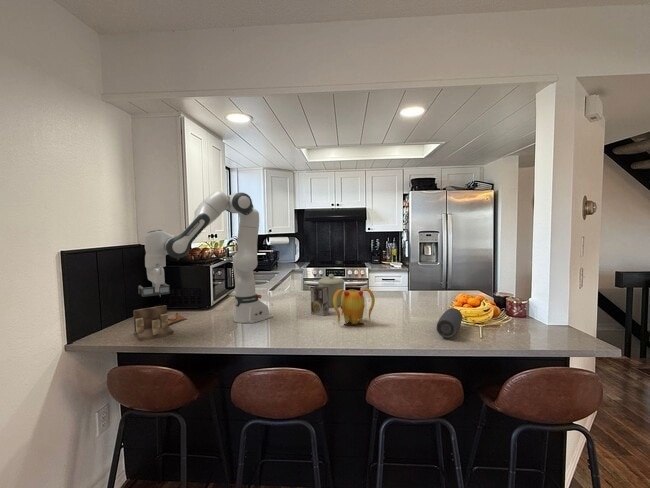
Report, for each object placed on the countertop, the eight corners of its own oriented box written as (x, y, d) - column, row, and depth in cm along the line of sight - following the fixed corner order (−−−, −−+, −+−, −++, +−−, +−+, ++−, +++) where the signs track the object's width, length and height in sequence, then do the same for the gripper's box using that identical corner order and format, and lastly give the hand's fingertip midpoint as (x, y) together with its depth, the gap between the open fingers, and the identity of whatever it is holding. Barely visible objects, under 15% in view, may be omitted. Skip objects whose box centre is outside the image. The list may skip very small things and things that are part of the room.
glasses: (164, 290, 163) (164, 283, 163) (169, 293, 156) (169, 285, 155) (138, 293, 156) (138, 285, 156) (142, 296, 148) (142, 288, 148)
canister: (315, 308, 200) (314, 276, 198) (320, 301, 217) (320, 271, 216) (343, 309, 197) (343, 276, 195) (346, 302, 214) (346, 272, 213)
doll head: (369, 318, 176) (369, 284, 175) (376, 326, 161) (376, 289, 160) (331, 320, 174) (330, 285, 173) (334, 328, 159) (333, 291, 158)
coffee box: (329, 313, 188) (328, 286, 187) (323, 316, 183) (322, 288, 182) (316, 311, 193) (316, 285, 192) (310, 314, 188) (310, 287, 187)
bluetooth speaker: (444, 324, 163) (444, 305, 162) (463, 327, 158) (463, 308, 158) (434, 338, 143) (434, 317, 143) (456, 342, 139) (456, 320, 138)
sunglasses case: (163, 328, 166) (158, 317, 166) (155, 333, 168) (150, 322, 169) (188, 318, 183) (183, 308, 183) (180, 323, 185) (175, 313, 186)
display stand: (166, 327, 167) (165, 305, 167) (173, 333, 157) (172, 310, 156) (134, 333, 158) (133, 310, 157) (139, 341, 147) (138, 316, 146)
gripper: (168, 264, 146) (168, 294, 146) (158, 261, 162) (158, 287, 162) (152, 265, 142) (153, 295, 142) (144, 262, 157) (144, 289, 158)
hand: (156, 291), depth 152 cm, fingers closed on glasses, 2 cm apart
